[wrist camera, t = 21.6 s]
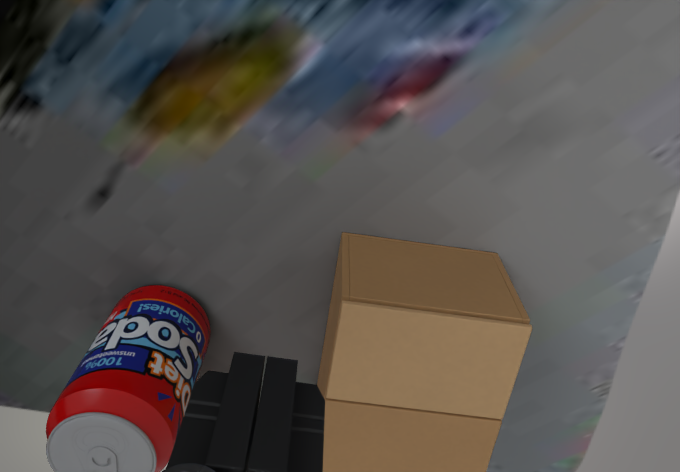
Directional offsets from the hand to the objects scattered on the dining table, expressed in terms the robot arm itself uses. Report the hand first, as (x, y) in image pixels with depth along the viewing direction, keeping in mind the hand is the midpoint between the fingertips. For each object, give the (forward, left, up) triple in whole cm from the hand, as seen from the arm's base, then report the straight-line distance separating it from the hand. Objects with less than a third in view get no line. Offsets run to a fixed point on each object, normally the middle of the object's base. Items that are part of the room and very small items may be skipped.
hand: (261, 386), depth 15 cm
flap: (+9, -14, -22) cm, 27 cm away
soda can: (-10, -20, -32) cm, 39 cm away
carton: (+9, -17, -32) cm, 37 cm away
